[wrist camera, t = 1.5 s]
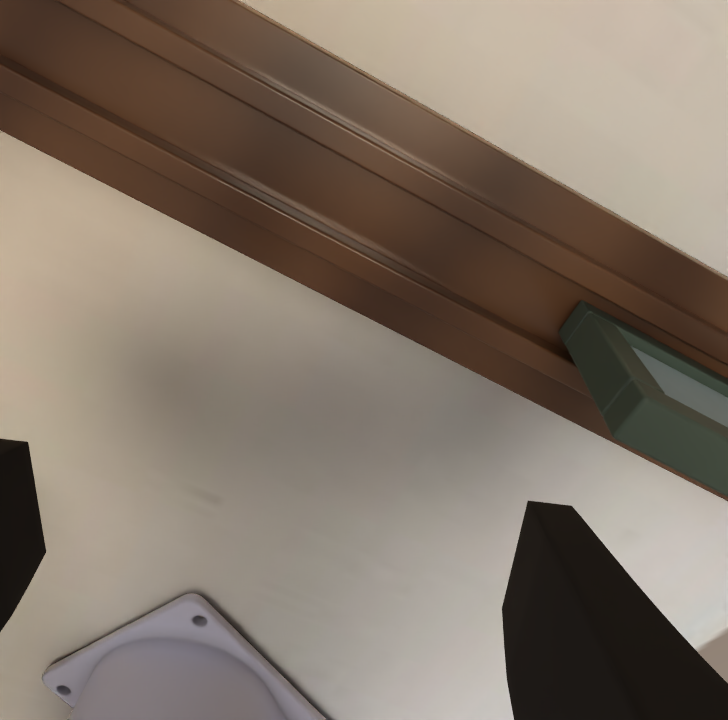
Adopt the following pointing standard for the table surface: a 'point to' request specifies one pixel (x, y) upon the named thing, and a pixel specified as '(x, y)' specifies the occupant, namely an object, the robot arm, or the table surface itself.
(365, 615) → the table surface
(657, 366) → the window pane
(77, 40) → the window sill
